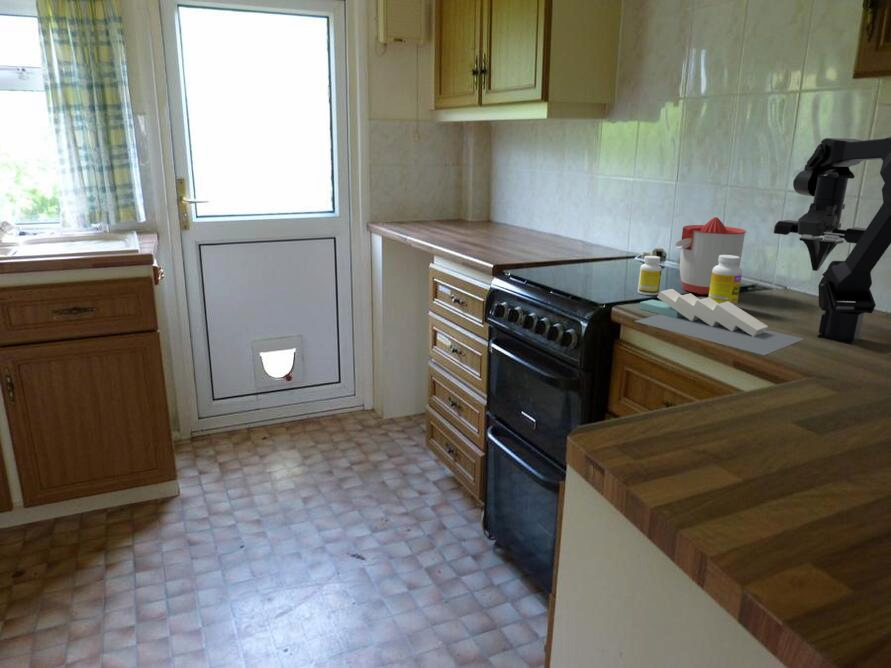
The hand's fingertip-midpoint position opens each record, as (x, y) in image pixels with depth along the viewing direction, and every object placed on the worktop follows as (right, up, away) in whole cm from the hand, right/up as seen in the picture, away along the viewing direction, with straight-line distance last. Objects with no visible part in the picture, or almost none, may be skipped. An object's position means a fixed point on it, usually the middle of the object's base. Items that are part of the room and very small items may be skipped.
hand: (815, 270), depth 146 cm
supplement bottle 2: (-15, -8, +14) cm, 22 cm away
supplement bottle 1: (-28, -4, +28) cm, 40 cm away
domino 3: (-19, -12, -5) cm, 23 cm away
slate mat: (-24, -13, -5) cm, 28 cm away
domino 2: (-22, -11, -2) cm, 25 cm away
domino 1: (-25, -10, +2) cm, 27 cm away
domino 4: (-16, -14, -8) cm, 23 cm away
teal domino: (-28, -9, +5) cm, 30 cm away
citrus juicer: (-12, -3, +32) cm, 35 cm away
